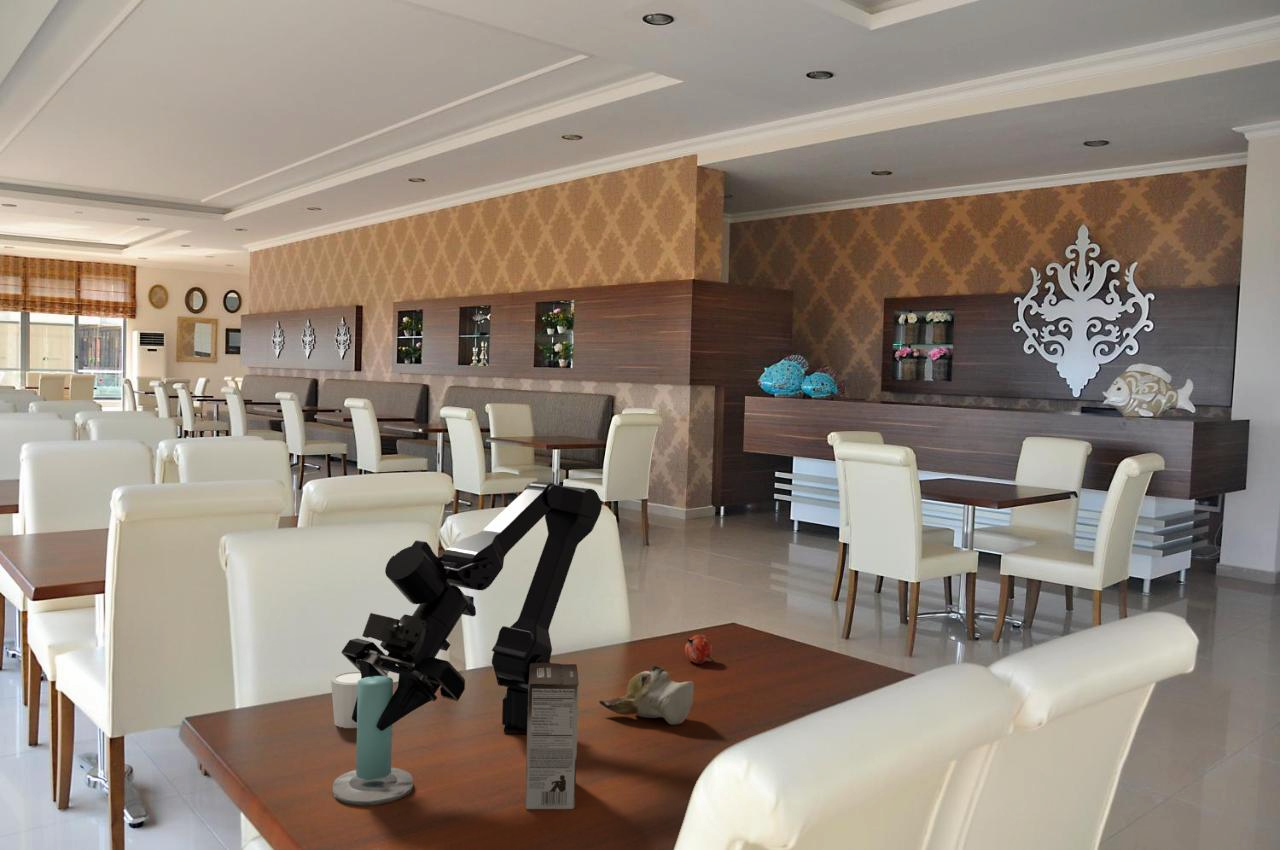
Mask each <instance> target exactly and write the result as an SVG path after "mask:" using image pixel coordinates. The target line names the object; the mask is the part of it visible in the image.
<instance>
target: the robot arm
mask: <svg viewBox="0 0 1280 850" xmlns="http://www.w3.org/2000/svg"><path fill="white" fill-rule="evenodd" d="M602 507H603V505H602V500H601V499H600V497H599V494H598V493H597V491H596V490H595V489H593V488H586V487H578V486H577V487H576V486H569V485H567V486H566V485H559V484H558V485H557V484H556V483H554V482H546V481H532V482H529V483H527V484H526V486H525V487H524V490H523V491H522V493H520V495H518V496H517V497H516V498H515V499H514V500H513V501H511V503H510V504H509V505H507V507H505V509H503V511H502V512H500V513H499V514H498V515H497V516H496V517H495V518H494V519H493V520H491V522H490V523H489V524H488V525H487V526H485V528H484V529H483V530H481V531H479V532H477V533H476V534H473V535H470V536H467V537H463V538H462V539H460V540H459V541H457V542H456V543H455V542H454V544H452V545H451V546H449V547H448V548H447V549H446V550H445V551H444V552H443V553H442V554H441V555H436V554H435V552H434V551H433V549H432V547H431V545H429V543H428V542H427V541H423V540H422V541H421V540H417V539H416V540H414V542H413V543H412V545H411V546H408V547H406V548H404V549H401V550H400V551H398V552H397V553H396V554H395V555H392V556H391V557H390V558H389V560H388V562H387V563H386V565H385V568H384V569H385V571H384V572H385V576H386V577H387V579H389V581H390V582H391V583H392V584H393V585H394V586H395V587H396V588H397V589H398V591H400V593H401V594H402V595H403V597H405V599H406V600H407V601H408V602H409V603H411V604H413V605H418V607H417V608H416V610H415V611H414V612H413V613H412V615H411V614H406V613H405V614H403V615H402V616H401V617H400V619H398V618H395V617H394V618H393V617H390V616H386V615H382V614H378V613H373V612H370V613H369V616H368V619H367V622H366V624H365V627H364V630H363V633H362V637H363V638H366V639H369V638H371V639H374V640H377V641H380V642H381V643H380V645H379V646H380V647H381V648H382V650H384V651H387V652H388V654H385V652H383V651H382V650H381V649H380V647H379V646H377V644H375V643H374V642H373V641H369V640H366V639H361V638H353V639H349V640H348V642H347V643H346V644H345V646H344V647H343V649H342V650H341V652H340V653H341V654H342V655H343V656H344V657H345V658H346V659H347V660H348V661H349V662H350V663H351V664H352V665H353V666H354V667H355V668H356V669H357V670H358V672H361V679H362V678H365V677H371V676H385V677H388V676H389V672H390V673H394V674H397V675H398V679H397V680H398V682H397V683H398V684H397V688H396V690H395V691H394V692H393V696H392V698H391V700H390V701H389V703H388V705H387V706H386V708H385V710H384V712H383V713H382V715H381V717H380V719H379V721H378V723H377V726H376V727H377V728H378V729H379V730H380V731H383V730H385V729H386V728H388V727H389V726H391V725H392V726H393V725H394V724H395V723H397V722H398V721H399V720H401V719H403V718H404V717H405V716H407V715H409V714H410V713H412V712H413V711H416V710H417V709H419V708H420V707H422V706H424V705H426V704H428V703H429V702H435V701H437V699H438V696H437V695H435V694H436V693H437V692H438V691H440V695H441V697H442V698H444V699H446V700H447V699H448V700H450V701H451V700H452V701H454V702H458V701H459V700H460V698H461V696H462V695H463V693H464V691H465V689H466V688H465V687H466V679H465V678H464V676H462V675H461V673H460V672H458V670H457V669H456V668H455V667H454V665H452V664H451V663H450V661H449V660H444V659H440V658H437V657H436V656H437V655H438V654H439V653H440V650H441V651H446V652H447V651H448V650H449V648H450V647H451V644H450V642H449V641H448V637H449V636H450V635H451V633H452V632H453V630H454V628H455V626H456V625H457V623H458V622H459V621H460V618H461V617H462V616H463V615H464V616H469V617H476V616H477V611H476V606H475V603H474V601H475V600H474V599H475V598H474V596H473V595H472V596H471V595H466V594H464V592H463V591H462V590H461V589H460V588H464V589H470V590H473V591H474V590H475V591H484V590H487V589H488V588H489V587H490V586H491V585H492V584H493V583H494V581H495V580H496V578H497V577H498V575H499V574H500V573H501V571H502V570H503V568H504V561H505V557H506V555H507V554H508V553H509V552H510V551H511V550H512V549H513V548H514V547H515V545H517V544H518V543H519V541H521V540H522V539H523V537H525V535H526V534H527V533H529V531H530V530H531V529H532V528H534V526H536V525H537V523H538V522H539V521H540V520H541V519H543V518H544V519H545V523H546V529H547V533H548V534H547V537H546V539H545V540H546V541H545V544H544V545H543V549H542V551H541V554H540V557H539V560H538V563H537V566H536V569H535V571H534V574H533V577H532V579H531V583H530V584H529V585H530V586H529V588H528V591H527V594H526V597H525V599H524V603H523V606H522V608H521V611H520V614H519V617H518V618H517V620H516V621H515V622H514V623H513V624H512V625H511V626H505V625H503V626H501V628H500V630H499V632H498V634H497V639H496V642H495V644H494V646H493V647H492V649H491V652H493V653H492V657H491V665H492V667H493V670H494V674H495V678H496V682H497V685H498V687H506V693H505V694H504V696H503V698H502V708H501V709H502V712H501V713H502V717H501V725H502V726H503V727H504V728H503V733H505V734H527V718H528V687H529V670H530V664H531V663H551V662H550V661H551V656H552V651H553V647H552V642H551V637H550V626H551V623H552V621H553V618H554V615H555V611H556V609H557V606H558V603H559V600H560V598H561V594H562V591H563V588H564V585H565V582H566V580H567V576H568V574H569V570H570V567H571V564H572V562H573V559H574V556H575V553H576V550H577V547H578V545H579V544H580V543H581V542H582V541H583V540H584V539H585V538H586V537H588V536H589V535H590V533H591V532H593V530H594V528H595V526H596V525H597V521H598V519H599V517H600V515H601V513H602ZM459 587H460V588H459ZM439 688H440V689H439ZM357 699H358V696H357ZM357 699H356V703H355V707H354V710H353V714H352V720H353V721H354V722H356V723H357Z"/></svg>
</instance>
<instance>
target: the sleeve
mask: <svg viewBox="0 0 1280 850" xmlns="http://www.w3.org/2000/svg"><path fill="white" fill-rule="evenodd" d="M393 690H394V679H393V678H392V677H390V676H389V677H388V676H387V677H385V676H371V677H365V678H362V679H360V680H359V681H358V699H357V728H356V752H355V753H356V759H355V760H356V761H355V763H356V765H355V770H356V775H357V776H358V777H360V778H363V779H379V778H383V777H386V776H388V775H389V774H390V773H391V767H392V755H393V754H392V753H393V752H392V751H393V750H392V746H393V742H392V741H393V724H392V725H391V726H389V727H388V728H386V729H385V730H383V731H380V730H379V729H378V728H377V727H376V726H377V723H378V721H379V719H380V717H381V715H382V713H383V712H384V710H385V708H386V706H387V705H388V703H389V701H390V700H391V698H392V696H393V694H394V691H393Z"/></svg>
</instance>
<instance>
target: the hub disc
mask: <svg viewBox="0 0 1280 850" xmlns="http://www.w3.org/2000/svg"><path fill="white" fill-rule="evenodd" d="M413 784H414V778H413V776H412V774H411V773H409V771H406V770H404V769H402V768H397V767H392V766H391V773H390V774H389V775H388V776H386V777H383V778H379V779H363V778H360V777H358V776H357V775H356V769H353V770H350V771H347V772H345V773H342V774H341V775H340V776H338V777H337V778H336V779H335V780H334V781H333V784H332V796H333V797H334V798H335V799H336V800H337V801H339V802H341V803H344V804H348V805H353V806H377V805H378V806H380V805H384V803H385V804H388V803H387V802H390V803H392V802H391V801H393V802H395V801H394V800H396V801H399V800H401V799H403V798H405V797H406V795H407V796H408V795H409V794H410V793H411V792H412V791H413V786H414V785H413ZM404 796H405V797H404ZM402 797H403V798H402ZM398 799H399V800H398Z"/></svg>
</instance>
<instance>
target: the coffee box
mask: <svg viewBox="0 0 1280 850" xmlns="http://www.w3.org/2000/svg"><path fill="white" fill-rule="evenodd" d="M579 682H580V681H579V674H578V665H577V664H576V663H572V664H571V663H569V664H567V663H563V664H562V663H555V662H554V663H553V662H550V663H531V664H530V670H529V687H528V718H527V733H526V761H525V762H526V764H525V765H526V766H525V767H526V768H525V769H526V770H525V773H526V774H525V778H526V779H525V784H526V785H525V786H526V787H525V788H526V789H525V809H526V810H574V809H575V807H576V784H577V783H576V782H577V781H576V780H577V779H576V778H577V757H578V756H577V755H578V754H577V751H578V720H579V719H578V718H579V689H580V688H579V686H580V684H579Z"/></svg>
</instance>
